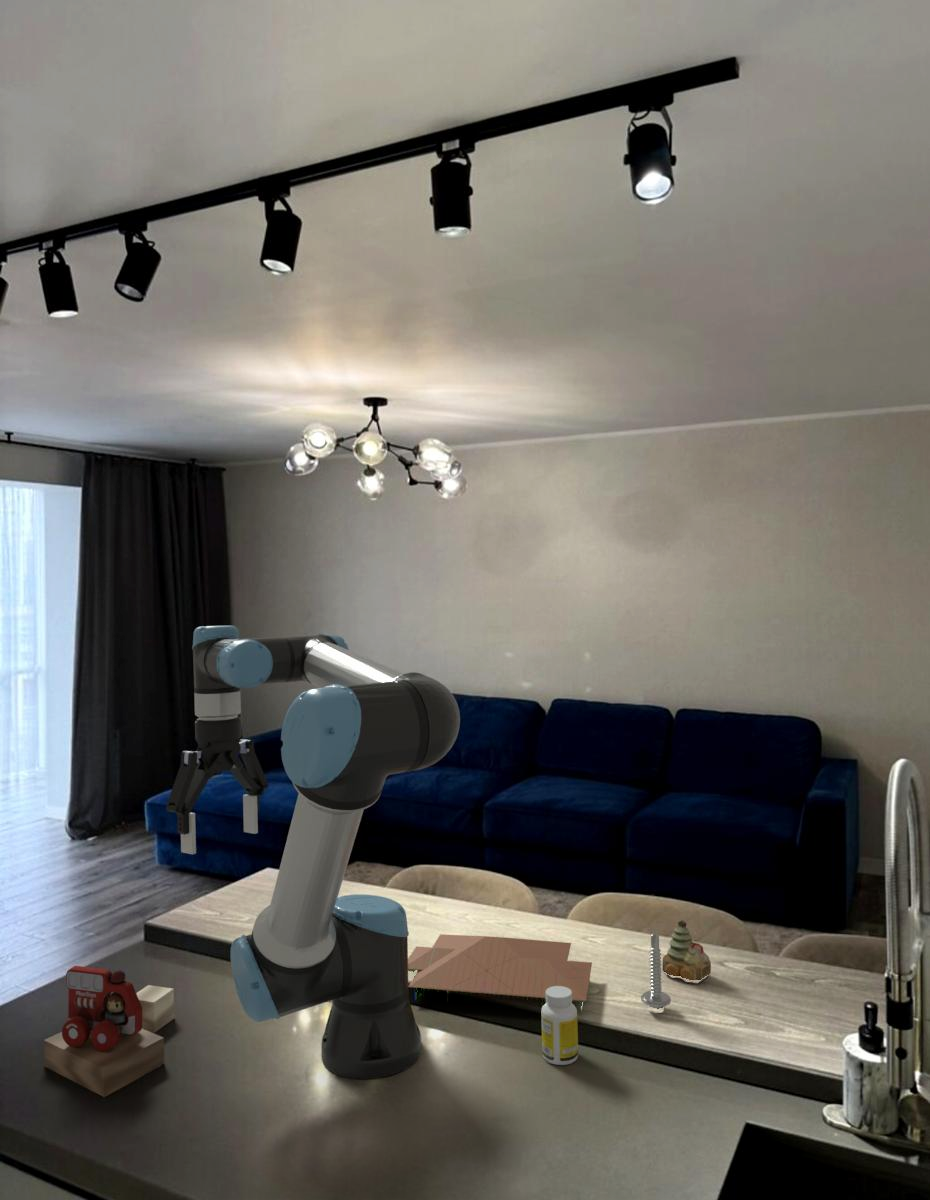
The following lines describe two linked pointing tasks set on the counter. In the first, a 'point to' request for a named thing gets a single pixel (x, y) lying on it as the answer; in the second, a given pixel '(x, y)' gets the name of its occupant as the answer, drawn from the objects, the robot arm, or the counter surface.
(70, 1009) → the toy fire truck
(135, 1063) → the plinth
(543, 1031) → the supplement bottle
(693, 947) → the ornament
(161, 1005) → the birch block
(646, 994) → the screw
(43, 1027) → the counter surface
